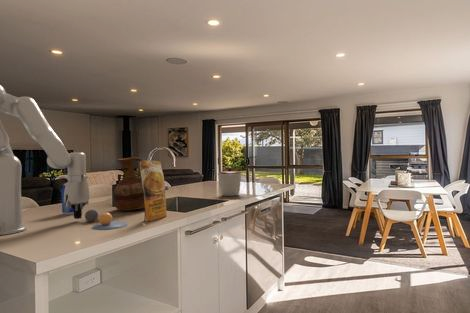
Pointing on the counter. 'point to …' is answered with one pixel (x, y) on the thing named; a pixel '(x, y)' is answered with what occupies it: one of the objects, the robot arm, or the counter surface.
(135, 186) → the ceramic pitcher
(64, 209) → the blue carton
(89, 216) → the gray ball
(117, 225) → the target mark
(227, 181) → the canister
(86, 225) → the counter surface
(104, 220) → the object ball
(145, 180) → the pancake mix bag
